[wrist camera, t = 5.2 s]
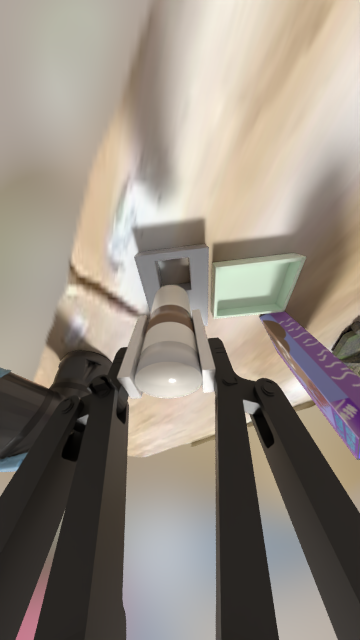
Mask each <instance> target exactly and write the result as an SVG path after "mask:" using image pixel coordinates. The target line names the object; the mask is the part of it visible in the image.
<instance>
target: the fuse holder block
mask: <svg viewBox="0 0 360 640" xmlns="http://www.w3.org/2000/svg"><path fill="white" fill-rule="evenodd" d="M187 257H188V259H189V274H190V283H183V284H174V285H177V286H179V287H181V288H183V289H184V290H185V291H186V293H187V295H188V298H189V303H190V309H191V315H192V310H196V309H200V313H201V317H202V320H203V324H204V326H208V258H209V247H208V246H207V245H206V244H199V245H191V246H183V247H175V248H167V249H159V250H152V251H144V252H138V253H137V254H136V255H135V256H134V258H135V261H136V265H137V268H138V272H139V275H140V279H141V282H142V286H143V289H144V293H145V296H146V300H147V303H148V307H149V310H150V314H151V310H152V306H153V302H154V298H155V294H156V292H157V291H158V290H159V289H160V288H161V287H163V285H162V280H161V275H160V270H159V265H158V261H163V260H171V259H179V258H187Z"/></svg>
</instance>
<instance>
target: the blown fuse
mask: <svg viewBox="0 0 360 640" xmlns="http://www.w3.org/2000/svg"><path fill="white" fill-rule="evenodd" d="M134 381H135V384H136V386H137V387H138V389H139V390H140V391H142V392H143V393H145V394H147V395H150V396H153V397H158V398H179V397H183V396H187V395H189V394H192V393H194V392H195V391H197V390H198V389H199V388H200V387H201V385H202V372H201V366H200V360H199V356H198V350H197V344H196V338H195V332H194V326H193V320H192V315H191V309H190V303H189V298H188V295H187V293H186V291H185V290H184V289H183V288H181V287H179V286H177V285H166V286H163V287H161V288H160V289H159V290H158V291H157V292H156V294H155V298H154V302H153V306H152V310H151V314H150V318H149V322H148V326H147V330H146V334H145V339H144V343H143V347H142V351H141V355H140V358H139V362H138V366H137V371H136V375H135V380H134Z"/></svg>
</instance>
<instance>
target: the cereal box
mask: <svg viewBox="0 0 360 640" xmlns="http://www.w3.org/2000/svg"><path fill="white" fill-rule="evenodd" d="M259 317H260V319H261V321H262V323H263V325H264V327H265V329H266V331H267V333H268V335H269V337H270V338H271V340H272V342H273V344H274V346H275V348H276V350H277V352H278V354H279V355H280V356H281V358H282V359H283V360H284V362H285V363H286V364H287V366H288V367H289V368H290V370H291V371H292V373H293V374H294V375H295V377H296V378H297V379H298V381H299V382H300V383H301V385H302V386H303V387H304V389H305V390H306V391H307V393H308V394H309V396H310V397H311V398H312V400H313V401H314V402H315V404H316V405H317V406H318V408H319V409H320V410H321V412H322V413H323V414H324V416H325V417H326V419H327V420H328V421H329V423H330V424H331V425H332V426H333V428H334V429H335V431H336V432H337V433H338V435H339V436H340V437H341V439H342V440H343V441H344V443H345V444H346V445H347V447H348V448H349V449H350V451H351V452H352V454H353V455H354V456H355V458H356V459H357V460H360V378H359V377H358V376H357V375H356V374H355V373H354V372H353V371H351V370H350V369H349V368H348V367H347V366H346V365H345V364H344V363H342V362H341V361H340V360H339V359H338V358H337V357H336V356H335V355H333V354H332V353H331V352H330V351H329V350H328V349H327V348H326V347H324V346H323V345H322V344H321V343H320V342H319V341H318V340H317V339H315V338H314V337H313V336H312V335H311V334H310V333H309V332H307V331H306V330H305V329H304V328H303V327H302V326H301V325H300V324H298V323H297V322H296V321H295V320H294V319H293V318H292V317H291V316H289V315H288V314H287V313H286V312H285V311H284V312H277V313H267V314H263V315H261V316H259Z"/></svg>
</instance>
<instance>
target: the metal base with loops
mask: <svg viewBox="0 0 360 640" xmlns="http://www.w3.org/2000/svg"><path fill="white" fill-rule="evenodd" d="M350 327H351V329H352V331H350V332H348V333H346V334H344V335H343V336H342V338H341V339H340V341H339V343H338V344H337V346H336V347H335V349H334V350H333V352H332V354H333V355H335V356H336V357H337V358H338V359H339V360H340V361H341V362H342V363H344V364H345V365H346V366H348V368H349V369H350V370H351V371H353V372H354V373H355V374H356V375H357V376H358V377H359V378H360V322H354V323H353V324H352V325H351V326H350Z"/></svg>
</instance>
